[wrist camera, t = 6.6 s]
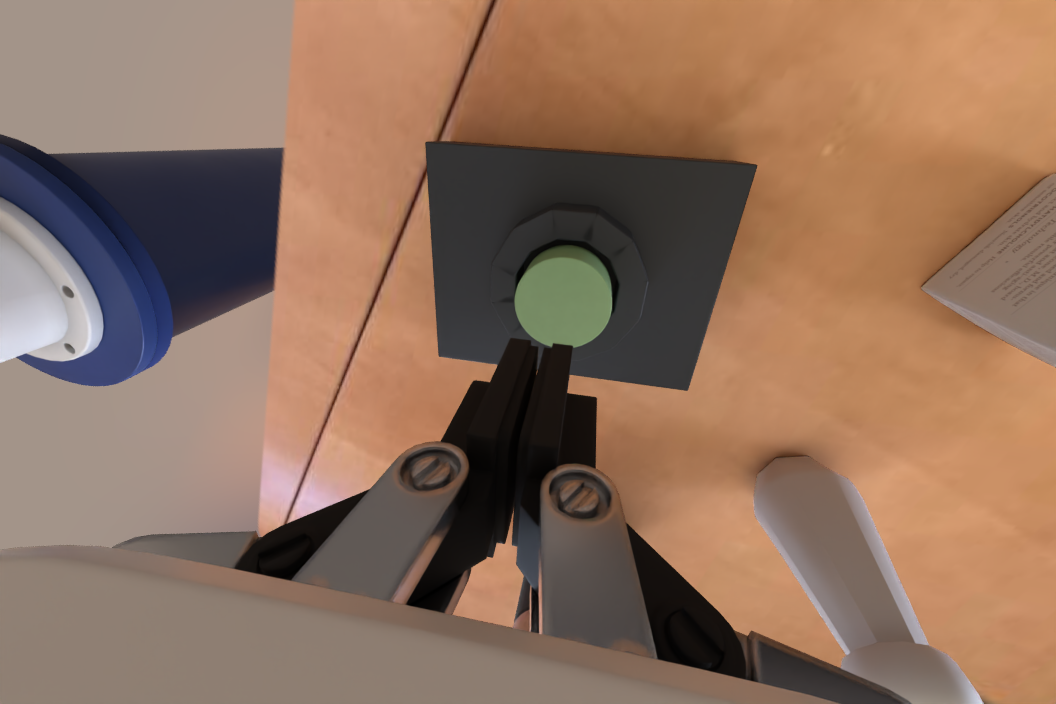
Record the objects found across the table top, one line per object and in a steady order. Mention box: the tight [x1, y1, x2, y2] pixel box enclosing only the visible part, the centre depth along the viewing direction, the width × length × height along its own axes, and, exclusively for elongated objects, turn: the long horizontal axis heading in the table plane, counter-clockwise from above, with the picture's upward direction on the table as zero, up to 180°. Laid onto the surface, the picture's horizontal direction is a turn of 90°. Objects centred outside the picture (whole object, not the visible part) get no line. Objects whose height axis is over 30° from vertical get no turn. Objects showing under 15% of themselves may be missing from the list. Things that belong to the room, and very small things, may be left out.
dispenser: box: [425, 141, 757, 391], centre depth 20 cm, size 14×11×5 cm
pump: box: [515, 245, 612, 348], centre depth 17 cm, size 4×4×2 cm
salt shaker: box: [754, 456, 983, 704], centre depth 21 cm, size 6×6×13 cm
